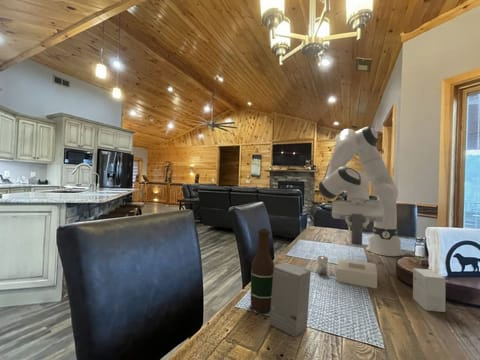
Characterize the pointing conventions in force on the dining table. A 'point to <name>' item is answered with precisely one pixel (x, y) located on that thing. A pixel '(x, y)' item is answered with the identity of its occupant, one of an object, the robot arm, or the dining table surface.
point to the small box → (429, 289)
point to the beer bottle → (262, 275)
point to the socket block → (357, 273)
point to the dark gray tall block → (357, 229)
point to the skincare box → (290, 298)
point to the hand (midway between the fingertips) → (357, 227)
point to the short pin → (322, 265)
